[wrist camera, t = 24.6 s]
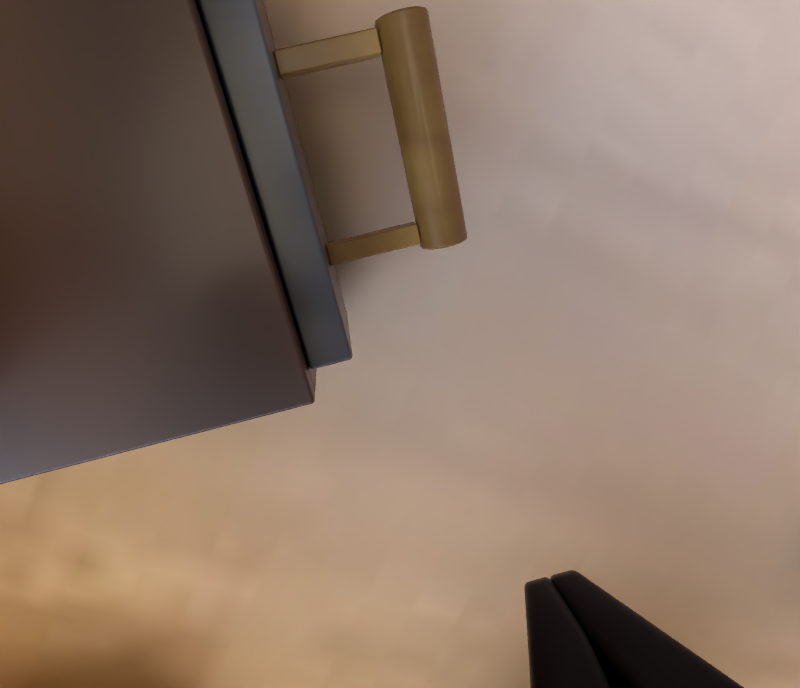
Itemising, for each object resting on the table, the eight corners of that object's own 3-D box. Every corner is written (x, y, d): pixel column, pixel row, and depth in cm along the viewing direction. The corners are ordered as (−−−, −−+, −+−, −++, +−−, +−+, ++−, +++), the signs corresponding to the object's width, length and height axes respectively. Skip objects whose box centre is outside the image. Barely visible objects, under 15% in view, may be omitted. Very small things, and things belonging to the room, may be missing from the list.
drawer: (396, -47, 15) (424, -134, 11) (458, 286, 19) (498, 322, 14) (-294, 103, 14) (-571, 74, 10) (-93, 424, 18) (-233, 509, 13)
